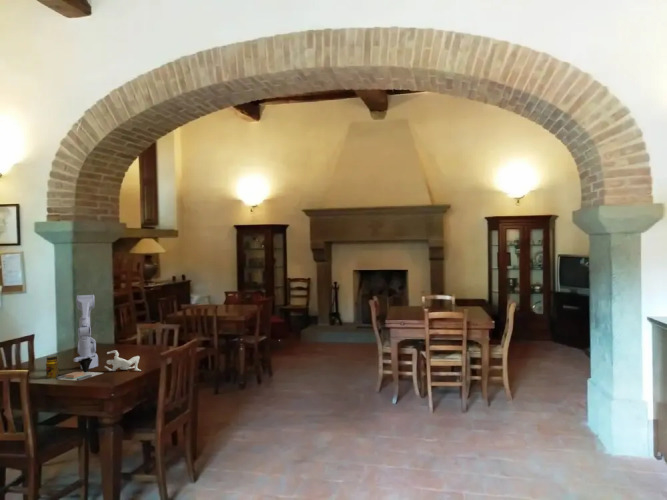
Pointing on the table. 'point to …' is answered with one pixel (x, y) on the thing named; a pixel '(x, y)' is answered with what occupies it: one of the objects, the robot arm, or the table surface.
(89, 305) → the robot arm
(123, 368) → the person figurine
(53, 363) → the condiment
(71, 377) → the tile
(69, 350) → the table surface
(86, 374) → the board
